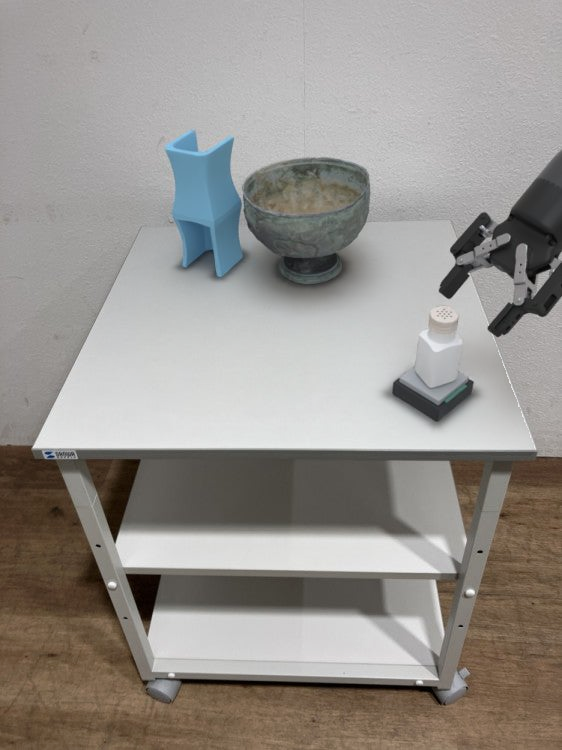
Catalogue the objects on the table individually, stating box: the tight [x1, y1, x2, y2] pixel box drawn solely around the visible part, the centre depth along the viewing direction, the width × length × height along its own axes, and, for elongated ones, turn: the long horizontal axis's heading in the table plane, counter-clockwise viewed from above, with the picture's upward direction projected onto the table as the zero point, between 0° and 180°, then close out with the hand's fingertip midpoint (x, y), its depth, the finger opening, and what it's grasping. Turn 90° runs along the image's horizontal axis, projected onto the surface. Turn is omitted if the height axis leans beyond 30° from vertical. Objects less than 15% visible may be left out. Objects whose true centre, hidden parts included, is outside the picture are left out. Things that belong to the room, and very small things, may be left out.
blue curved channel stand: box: [164, 129, 244, 278], centre depth 98 cm, size 8×8×20 cm
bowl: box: [241, 156, 371, 285], centre depth 96 cm, size 20×19×15 cm
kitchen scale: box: [391, 365, 475, 422], centre depth 77 cm, size 7×7×3 cm
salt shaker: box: [414, 305, 464, 388], centre depth 73 cm, size 4×4×10 cm
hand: (467, 314), depth 72 cm, fingers open, 8 cm apart
